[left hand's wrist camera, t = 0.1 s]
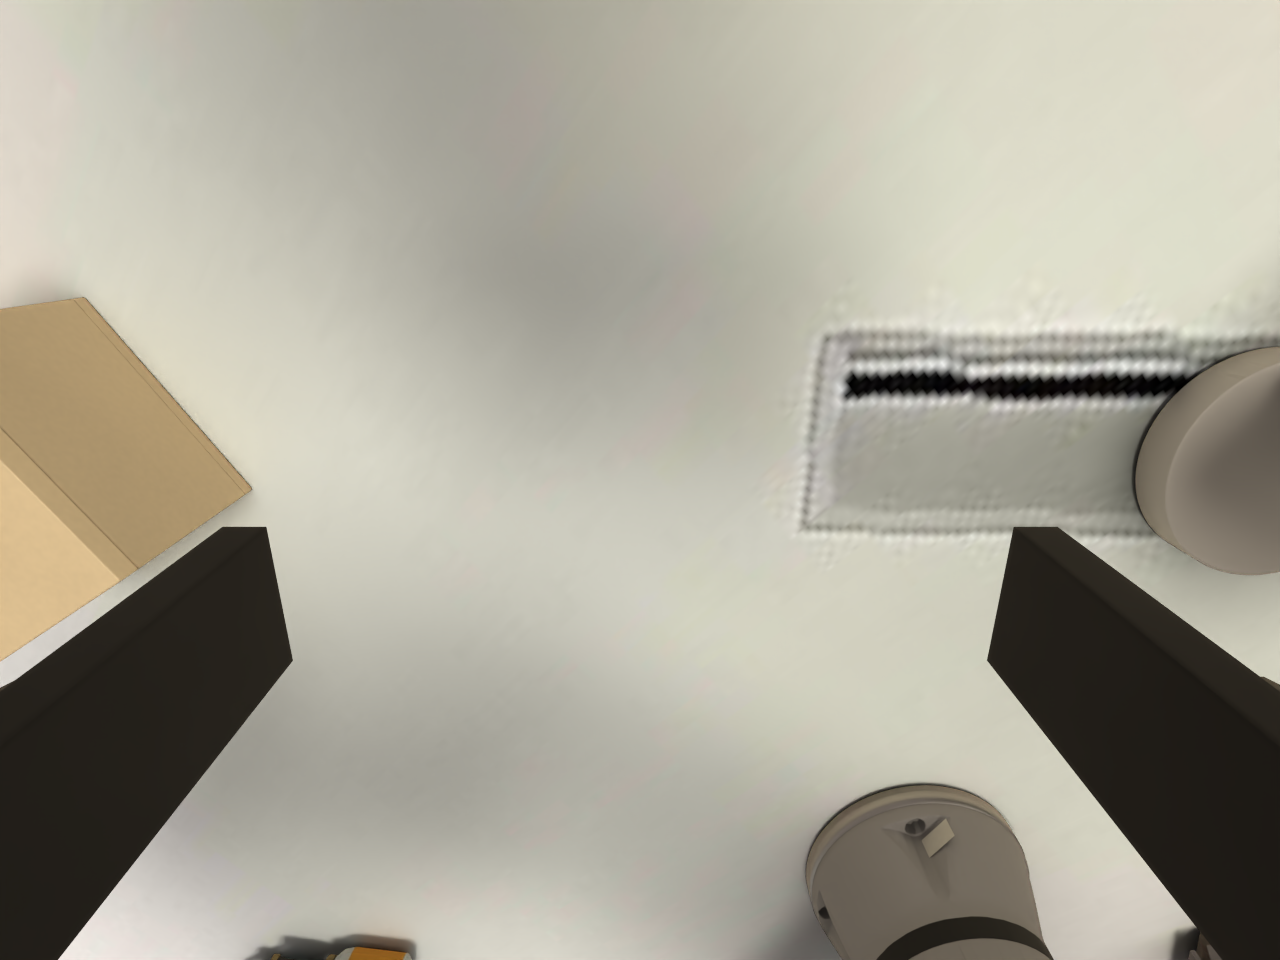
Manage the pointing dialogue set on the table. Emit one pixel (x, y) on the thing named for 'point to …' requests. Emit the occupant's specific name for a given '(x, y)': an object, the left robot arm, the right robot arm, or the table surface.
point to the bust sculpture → (1219, 466)
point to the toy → (1203, 951)
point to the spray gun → (361, 955)
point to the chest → (107, 429)
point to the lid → (46, 552)
